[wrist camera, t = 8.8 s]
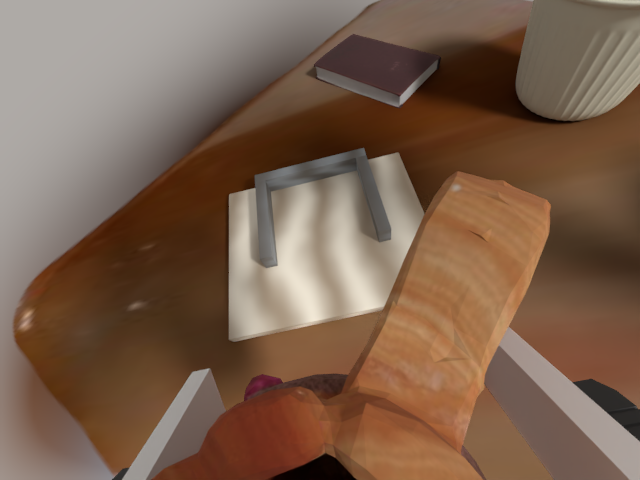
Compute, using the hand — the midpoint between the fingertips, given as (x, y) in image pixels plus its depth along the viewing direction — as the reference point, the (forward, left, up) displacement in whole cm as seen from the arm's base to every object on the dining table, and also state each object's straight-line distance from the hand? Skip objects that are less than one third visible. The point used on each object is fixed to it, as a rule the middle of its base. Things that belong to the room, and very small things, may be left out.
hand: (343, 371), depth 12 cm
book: (-14, -53, -23) cm, 60 cm away
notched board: (+1, -20, -22) cm, 30 cm away
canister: (-38, -35, -22) cm, 56 cm away
